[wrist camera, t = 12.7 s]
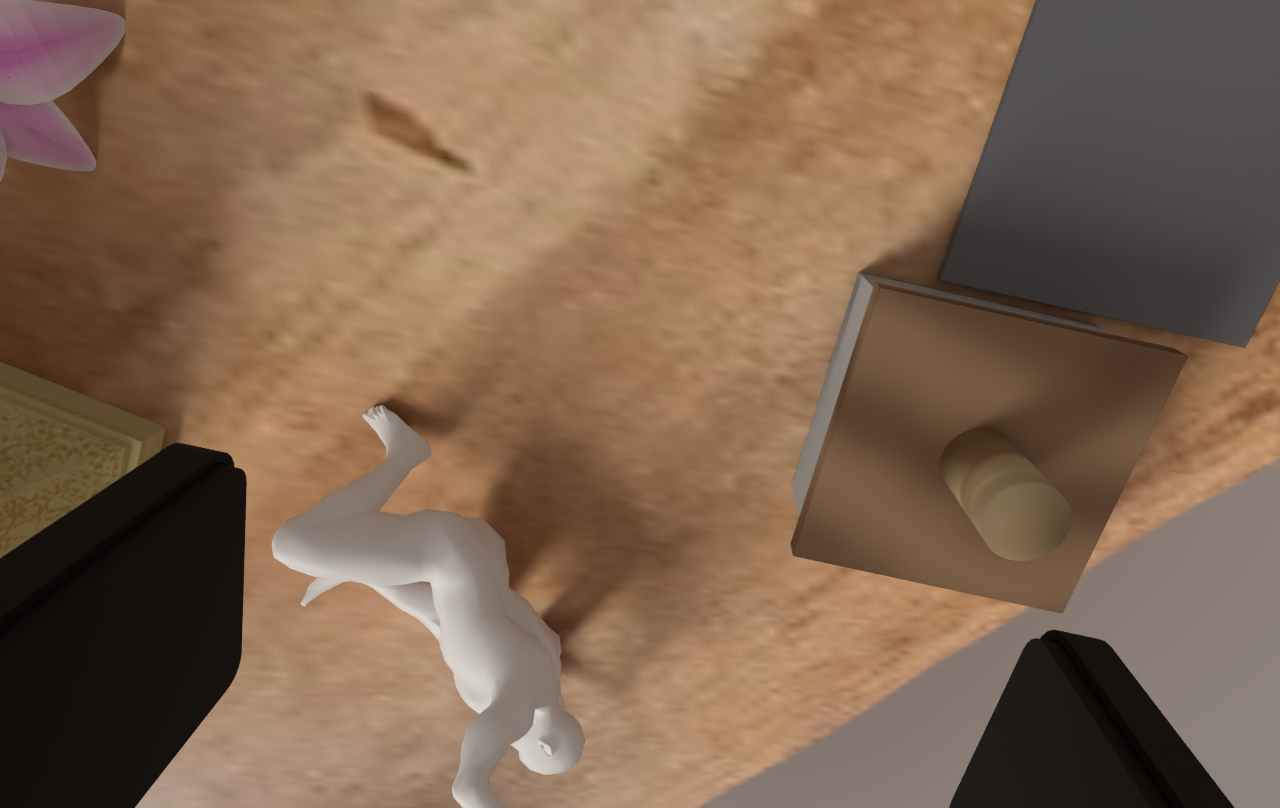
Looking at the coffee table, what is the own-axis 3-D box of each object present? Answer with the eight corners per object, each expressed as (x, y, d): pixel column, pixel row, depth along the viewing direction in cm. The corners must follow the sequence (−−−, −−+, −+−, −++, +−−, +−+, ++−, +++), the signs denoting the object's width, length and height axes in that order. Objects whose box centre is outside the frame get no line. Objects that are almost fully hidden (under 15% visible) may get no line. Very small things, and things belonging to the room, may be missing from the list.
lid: (875, 282, 31) (915, 322, 25) (1173, 348, 31) (1278, 402, 26) (790, 543, 35) (809, 627, 30) (1052, 600, 36) (1120, 693, 30)
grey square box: (858, 272, 36) (884, 298, 31) (1095, 324, 36) (1155, 358, 31) (791, 485, 40) (805, 537, 35) (1005, 531, 40) (1046, 589, 35)
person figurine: (151, 683, 33) (530, 906, 32) (274, 413, 31) (679, 638, 30) (315, 584, 46) (589, 741, 45) (409, 389, 44) (696, 547, 43)
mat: (1062, -74, 31) (1066, -77, 30) (1411, 6, 31) (1420, 5, 31) (938, 278, 36) (940, 280, 35) (1239, 345, 36) (1244, 347, 36)
